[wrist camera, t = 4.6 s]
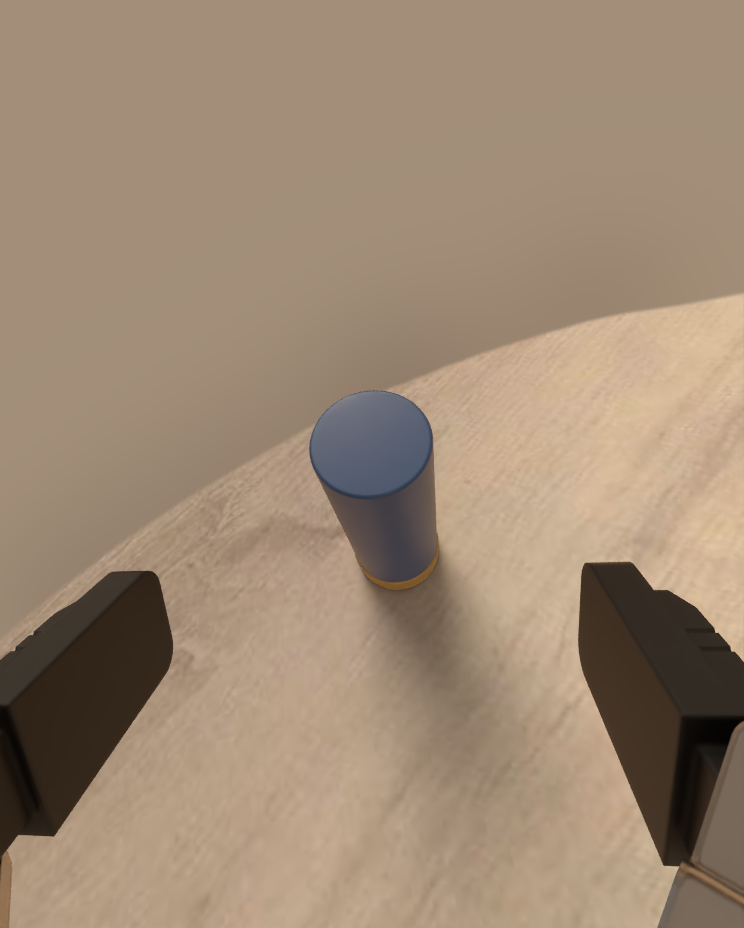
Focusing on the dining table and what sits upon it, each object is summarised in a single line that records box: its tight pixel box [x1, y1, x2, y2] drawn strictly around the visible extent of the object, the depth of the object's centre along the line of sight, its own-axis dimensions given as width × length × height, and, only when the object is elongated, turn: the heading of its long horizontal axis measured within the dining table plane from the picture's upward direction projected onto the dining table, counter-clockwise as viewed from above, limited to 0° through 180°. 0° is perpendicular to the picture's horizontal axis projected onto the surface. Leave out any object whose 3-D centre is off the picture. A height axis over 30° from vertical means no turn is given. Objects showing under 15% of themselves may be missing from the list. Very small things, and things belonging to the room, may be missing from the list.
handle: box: [309, 391, 439, 590], centre depth 16 cm, size 3×3×8 cm
